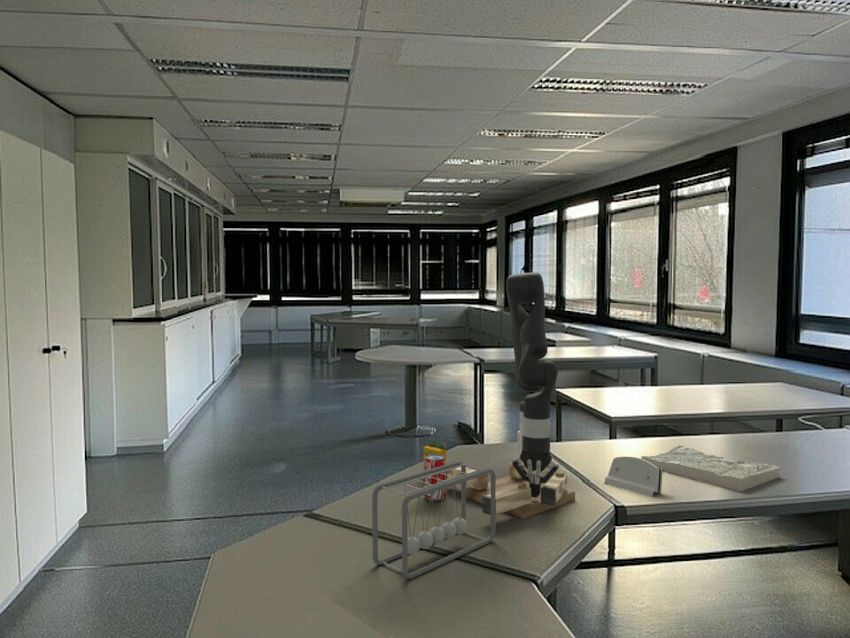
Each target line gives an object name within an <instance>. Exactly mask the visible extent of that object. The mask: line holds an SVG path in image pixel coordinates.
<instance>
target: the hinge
mask: <svg viewBox="0 0 850 638" xmlns="http://www.w3.org/2000/svg"><path fill="white" fill-rule="evenodd" d="M663 474H664V471H662V469H660V468H659V467H658V466H656V465H655V464H653V463H651V462H649V461H646V460H643V459H641V457H636V456H618V457H614V458H613V460H612V461H611V465H610V468H609V471H608V474H607V475H606V476H605V478H604V481H603V482H604V483H603V484H605V485H608V484H609V486H612V485H613V486H612V487H615V486H616V488H619V487H620V488H619V489H622V488H624V489H623V490H626V489H628V490H627V491H630V490H631V491H630V492H633V491H635V492H634V493H637V492H638V494H640V493H641V494H640V495H644V494H645V496H647V495H648V497H651V498H652V497H654V493H656V494H662V487H663V476H664V475H663Z"/></svg>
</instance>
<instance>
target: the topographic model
mask: <svg viewBox="0 0 850 638" xmlns="http://www.w3.org/2000/svg"><path fill="white" fill-rule="evenodd" d="M640 459H643V460H646V461H649V462H651V463H653V464H655V465H656V466H658V467H659V468H660V469H662V470H663V472H665V471H667V472H666V473H669V472H670V474H673V473H674V474H675V475H677V476H681V475H682V476H681V477H684V476H685V478H688V477H689V479H692V480H695V481H699V482H703V481H704V482H703V483H707V482H708V483H707V484H711V483H712V485H715V486H719V487H723V488H725V489H726V488H727V489H731V490H735V491H738V492H744V491H747V490H749V489H751V488H754V487H757V486H759V485H763V484H765V483H767V482H770V481H772V480H775V479H778V478H780V474H781V473H780V471H781V469H780V468H781V467H779V466H777V465H773V464H770V461H768V462H767V463H765V462H763V463H761V462H756V461H754V462H745V460H741V459H739V460H733V459H729V458H726V457H725V458H724V457H723V456H717V455H714V454H705V453H704V452H702V451H701V450H697V449H695V448H693V447H688V446H685V445H680V444H679V445H677V446H674V447H672V448H671V449H670V450H668V451H667V452H666V451H665V452H663V453H659V454H657V455H656V454H655V455H650V456H649V455H642V456H641V457H640Z"/></svg>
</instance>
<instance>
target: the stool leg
mask: <svg viewBox="0 0 850 638" xmlns="http://www.w3.org/2000/svg"><path fill="white" fill-rule="evenodd" d="M567 489H568V475H567V474H566V475H565V472H562V471H556V472H555V473H554V474H553V475H552V476H551V477H550V478H549V480H548V481H547V482H546V484H545V485H544V486H543V487H541V504H546V505H553V506H555V505H556V503H557V501H558V500H559V499H560V498H561V496H562V495H563V494H564V493H565V491H566V490H567Z"/></svg>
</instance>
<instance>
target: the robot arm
mask: <svg viewBox="0 0 850 638" xmlns="http://www.w3.org/2000/svg"><path fill="white" fill-rule="evenodd" d="M505 288H506V295H507V296H506V297H507V301H508V307H509V313H510V322H511V324H510V325H511V326H510V327H511V337H512V338H511V339H512V345H513V346H512V347H513V352H514V353H513V354H514V376H515V384H516V388H517V390H518V391H522V392H534V393H531V394H527V395H526V396H525V397H524V398H523V401H521V402H520V403H519V430H518V431H517V433H516V435H517V437H516V438H517V439H516V444H517V445H516V452H517V453H516V456H517V457H516V458H514V460H513V461H512V462H511V463H512V464H513V466H514V467H515V469H516V470H517V472H518V473H519V474H520V476H521V477H522V479H523V480H526V481H528V482H529V488H531V497H535V498H537V497H538V496H539V495H540V493H541V483H547V482H548V481H549V480H550V479H551V478H552V477H553V476H554V475H555V474H556V472H558V469H559V468H560V465H559V464H558V463H555V462H554V461H553V460H552V459H553V457H552V456H551V433H552V430H551V427H552V426H551V400H552V396H553V391H554V388H555V385H556V382H557V379H558V375H559V370H558V369H559V368H558V366H557V364H556V363H555V362H554V361H553V360H551V359H543V358H545V357H546V356H547V354H548V344H547V343H548V342H547V336H546V326H545V325H546V324H545V318H546V314H545V313H546V302H545V301H546V297H545V286H544V280H543V276H542V275H541V273H539V272H538V271H534V272H522V273H521V272H520V273H515V274H510V275H509V276H507V278H506V283H505ZM525 304H527V305H528V304H533V307H532V308H531V311H530V312H529V313H528V312H527V311H526V310H525V309H524V308H523V306H522V305H525ZM535 392H536V393H535ZM522 462H523V464H524V465H525V467H526V468H527V469H528V473H527V472H526V471H525V469H524V468H523V466H522ZM548 465H549V469H548V471H547V473H545V475H544V476H543V473H544V472H543V470H544V469H545V468H546V467H547V466H548ZM535 471H536V474H535Z"/></svg>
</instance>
